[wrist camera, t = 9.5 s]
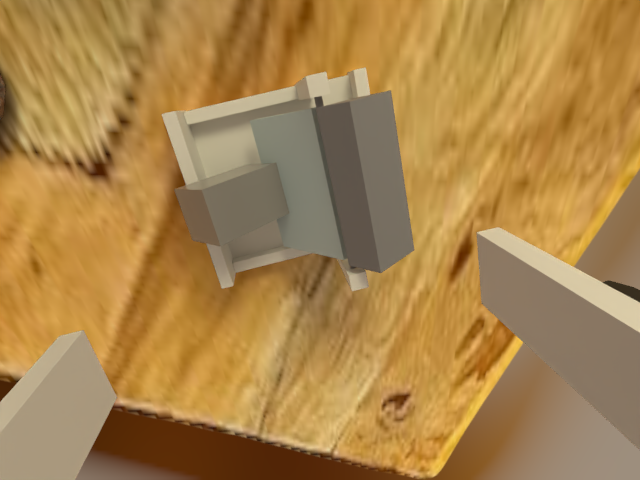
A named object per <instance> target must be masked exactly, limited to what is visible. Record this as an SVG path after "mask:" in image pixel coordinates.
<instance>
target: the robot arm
mask: <svg viewBox="0 0 640 480" xmlns="http://www.w3.org/2000/svg"><path fill="white" fill-rule="evenodd" d="M477 245H478V259H479V272H480V286H481V300H482V304H483V305H484V306H485V307H486V308H487V309H488V310H489V311H490V312H492V313H493V314H494V315H495V316H496V317H497V318H498V319H499V320H500V321H501V322H502V323H503V324H504V325H506V326H507V327H508V328H509V329H510V330H511V331H512V332H513V333H514V334H515V335H516V336H517V337H518V338H520V339H521V340H522V341H523V342H524V343H525V344H526V345H527V346H528V347H529V348H530V349H531V350H532V351H534V352H535V353H536V354H537V355H538V356H539V357H540V358H541V359H542V360H543V361H544V362H545V363H546V364H547V365H549V366H550V367H551V368H552V369H553V370H554V371H555V372H556V373H557V374H558V375H559V376H561V377H562V378H563V379H564V380H565V381H566V382H567V383H568V384H569V385H570V386H571V387H572V388H573V389H574V390H575V391H577V392H578V393H579V394H580V395H581V396H582V397H583V398H584V399H585V400H586V401H587V402H588V403H589V404H590V405H592V406H593V407H594V408H595V409H596V410H597V411H598V412H599V413H600V414H601V415H602V416H603V417H604V418H606V419H607V420H608V421H609V422H610V423H611V424H612V425H613V426H614V427H615V428H617V429H618V431H620V432H621V433H622V434H623V435H624V436H625V437H626V438H627V439H628V440H629V441H631V443H632V444H634V445H635V446H636V447H637V448H638V449H639V450H640V290H638V289H636V288H634V287H630V286H627V285H623V284H620V283H616V282H612V281H605V282H600V281H598V280H597V279H595V278H593V277H591V276H589V275H587V274H585V273H583V272H582V271H580V270H578V269H576V268H574V267H572V266H570V265H568V264H567V263H565V262H563V261H561V260H559V259H557V258H555V257H553V256H552V255H550V254H548V253H546V252H544V251H542V250H540V249H539V248H537V247H535V246H533V245H531V244H529V243H527V242H525V241H524V240H522V239H520V238H518V237H516V236H514V235H512V234H510V233H509V232H507V231H505V230H503V229H501V228H499V227H497V228H493V229H489V230H485V231H481V232H477ZM116 398H117V397H116V394H115V392H114V390H113V388H112V386H111V384H110V382H109V380H108V378H107V376H106V374H105V372H104V370H103V368H102V366H101V364H100V362H99V360H98V358H97V356H96V354H95V352H94V350H93V348H92V346H91V344H90V342H89V340H88V338H87V336H86V334H85V332H84V330H82V331H78V332H74V333H70V334H66V335H62V336H59V337H58V338H57V339H56V340H55V341H54V343H53V344H52V345H51V346H50V347H49V348H48V349H47V350H46V352H45V353H44V354H43V355H42V356H41V357H40V358H39V359H38V360H37V362H36V363H35V364H34V365H33V366H32V367H31V368H30V369H29V371H28V372H27V373H26V374H25V375H24V376H23V377H22V378H21V380H20V381H19V382H18V383H17V384H16V385H15V386H14V387H13V389H12V390H11V391H10V392H9V393H8V394H7V395H6V396H5V398H4V399H3V400H2V401H1V402H0V480H75V479H76V477H77V475H78V473H79V471H80V469H81V467H82V465H83V463H84V461H85V459H86V457H87V455H88V453H89V451H90V449H91V447H92V445H93V444H94V442H95V440H96V438H97V436H98V434H99V432H100V430H101V428H102V426H103V424H104V422H105V420H106V418H107V416H108V414H109V412H110V410H111V408H112V406H113V404H114V402H115V400H116Z"/></svg>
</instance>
